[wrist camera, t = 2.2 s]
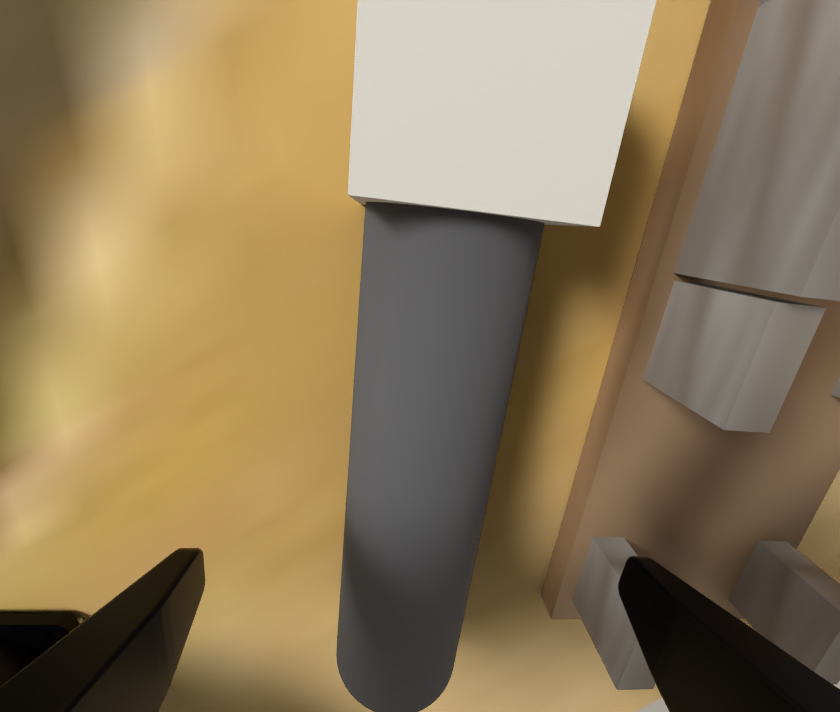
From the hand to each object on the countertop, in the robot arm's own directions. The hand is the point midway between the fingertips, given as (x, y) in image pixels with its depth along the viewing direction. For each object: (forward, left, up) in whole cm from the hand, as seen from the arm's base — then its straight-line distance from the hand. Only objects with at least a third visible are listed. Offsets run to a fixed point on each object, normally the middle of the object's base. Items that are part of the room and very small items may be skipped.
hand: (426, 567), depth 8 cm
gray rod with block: (0, +2, -5) cm, 6 cm away
